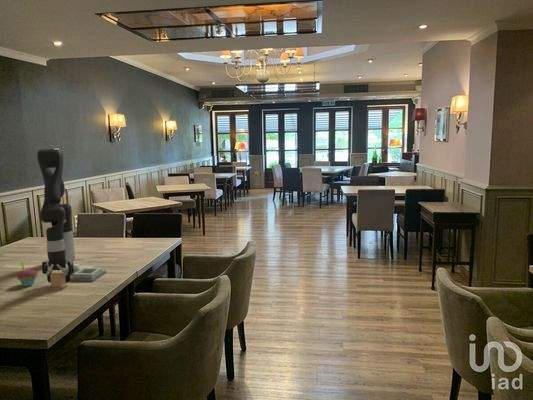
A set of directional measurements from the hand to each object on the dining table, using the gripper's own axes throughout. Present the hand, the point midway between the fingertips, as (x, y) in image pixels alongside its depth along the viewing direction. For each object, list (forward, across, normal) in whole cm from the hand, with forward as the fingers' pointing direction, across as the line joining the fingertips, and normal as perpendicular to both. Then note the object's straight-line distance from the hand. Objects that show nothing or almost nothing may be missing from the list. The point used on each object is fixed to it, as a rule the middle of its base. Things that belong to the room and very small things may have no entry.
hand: (59, 282), depth 190 cm
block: (+1, 0, 0) cm, 1 cm away
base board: (+1, +5, +12) cm, 13 cm away
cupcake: (+2, -16, 0) cm, 16 cm away
